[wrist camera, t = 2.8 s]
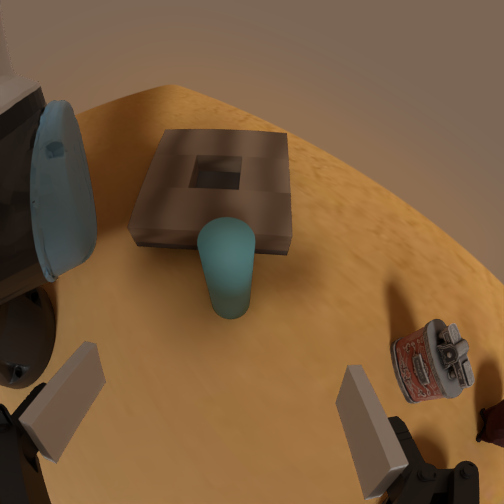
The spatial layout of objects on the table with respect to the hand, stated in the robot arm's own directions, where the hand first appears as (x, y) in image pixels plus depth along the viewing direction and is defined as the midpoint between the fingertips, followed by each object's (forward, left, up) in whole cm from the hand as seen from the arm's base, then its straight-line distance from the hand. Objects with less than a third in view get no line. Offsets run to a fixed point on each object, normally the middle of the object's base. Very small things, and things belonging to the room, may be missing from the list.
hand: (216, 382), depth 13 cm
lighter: (+20, +2, -14) cm, 24 cm away
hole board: (-3, +25, -14) cm, 28 cm away
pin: (0, +10, -14) cm, 17 cm away
